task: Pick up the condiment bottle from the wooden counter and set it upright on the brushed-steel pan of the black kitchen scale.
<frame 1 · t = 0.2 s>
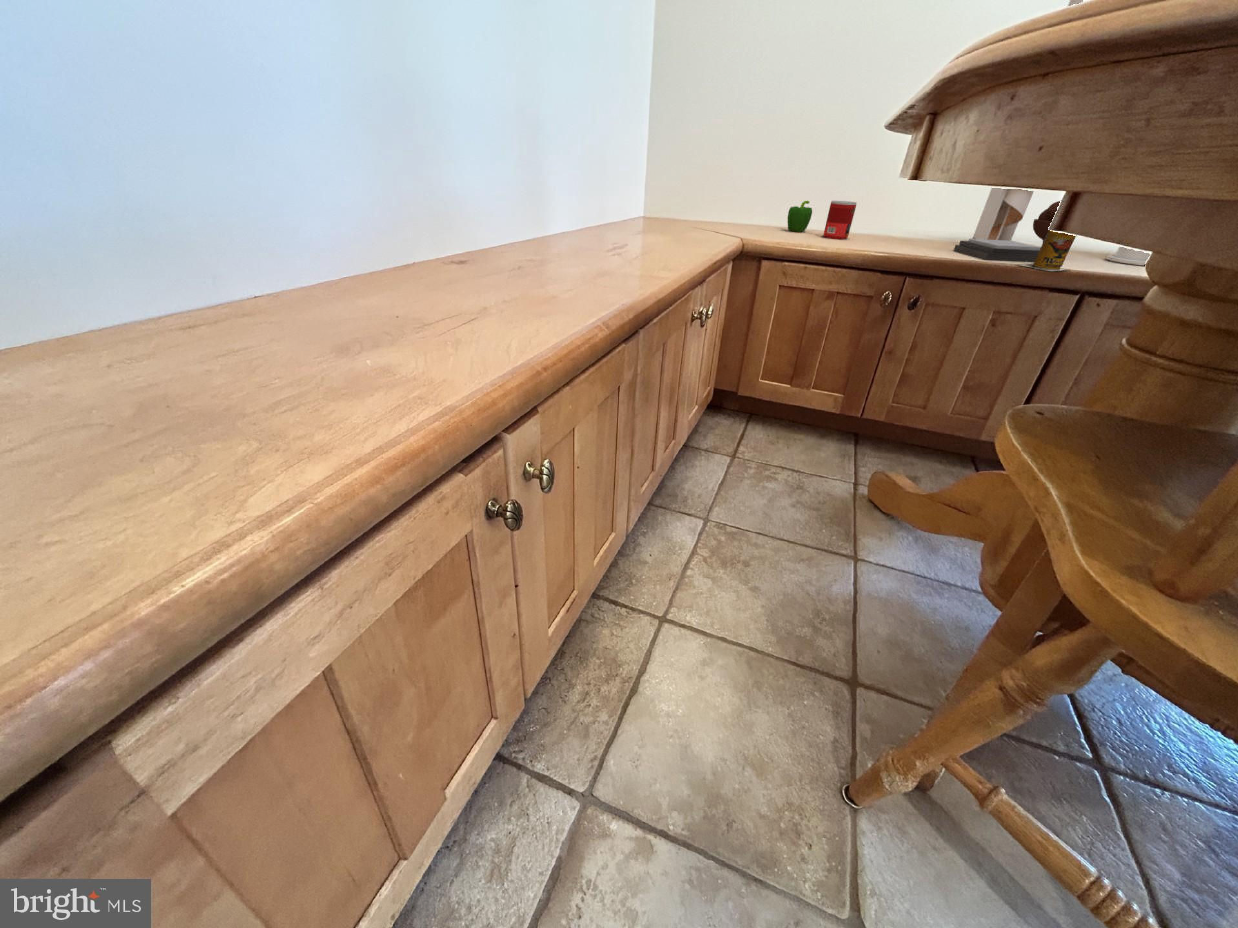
hand: (1036, 130, 130), 31 cm above the worktop, tool pointing down, fingers open, 9 cm apart
bell pepper: (796, 232, 182), on the worktop
condiment: (1041, 268, 133), on the worktop
scale: (998, 256, 148), on the worktop
display case: (994, 248, 165), on the worktop
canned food: (834, 238, 170), on the worktop
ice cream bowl: (1040, 255, 154), on the worktop
scale pan: (1003, 245, 146), point 3 cm above the worktop, slide at -0.1 cm
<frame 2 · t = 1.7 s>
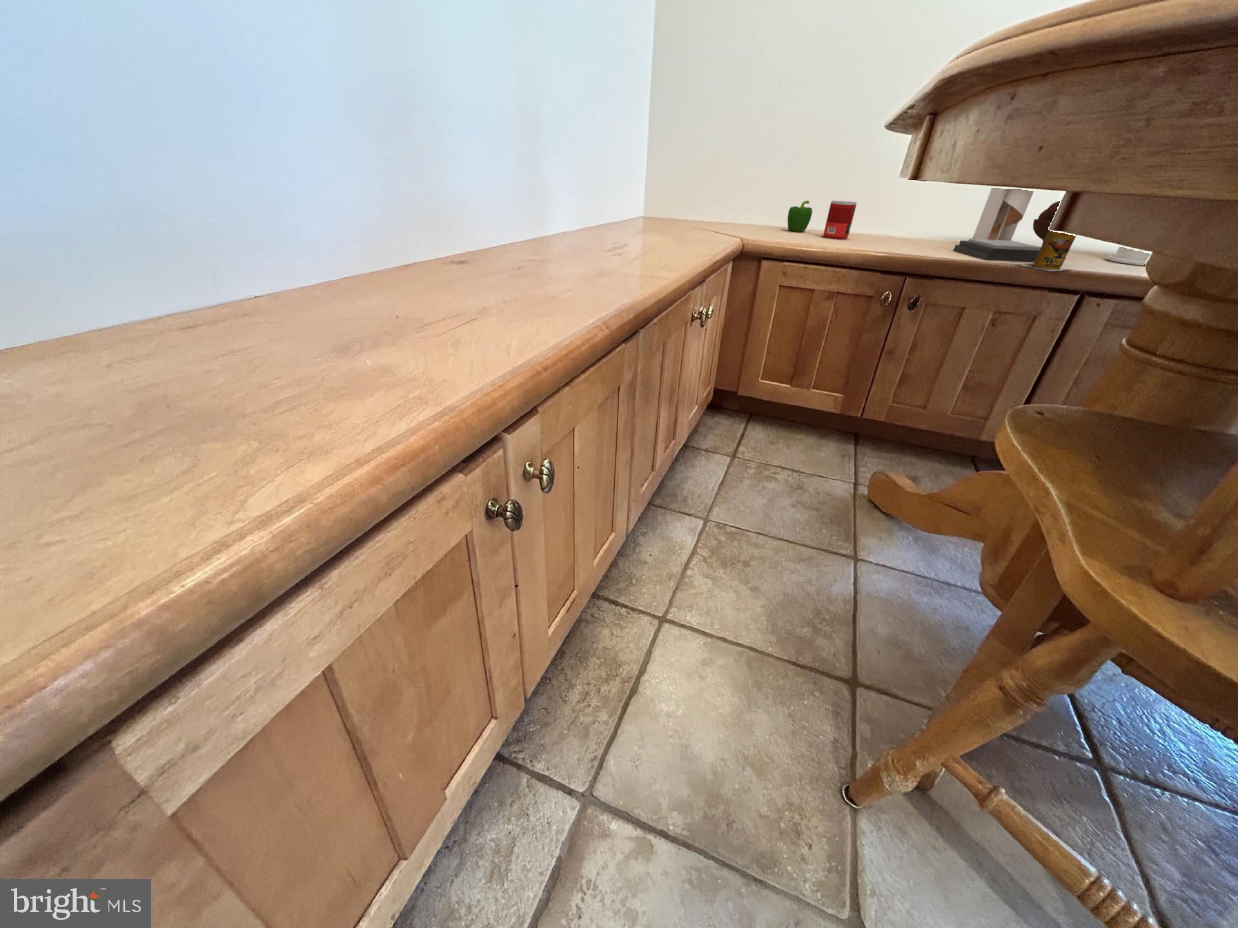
hand: (1077, 185, 123), 19 cm above the worktop, tool pointing down, fingers open, 9 cm apart
nothing on the worktop moved.
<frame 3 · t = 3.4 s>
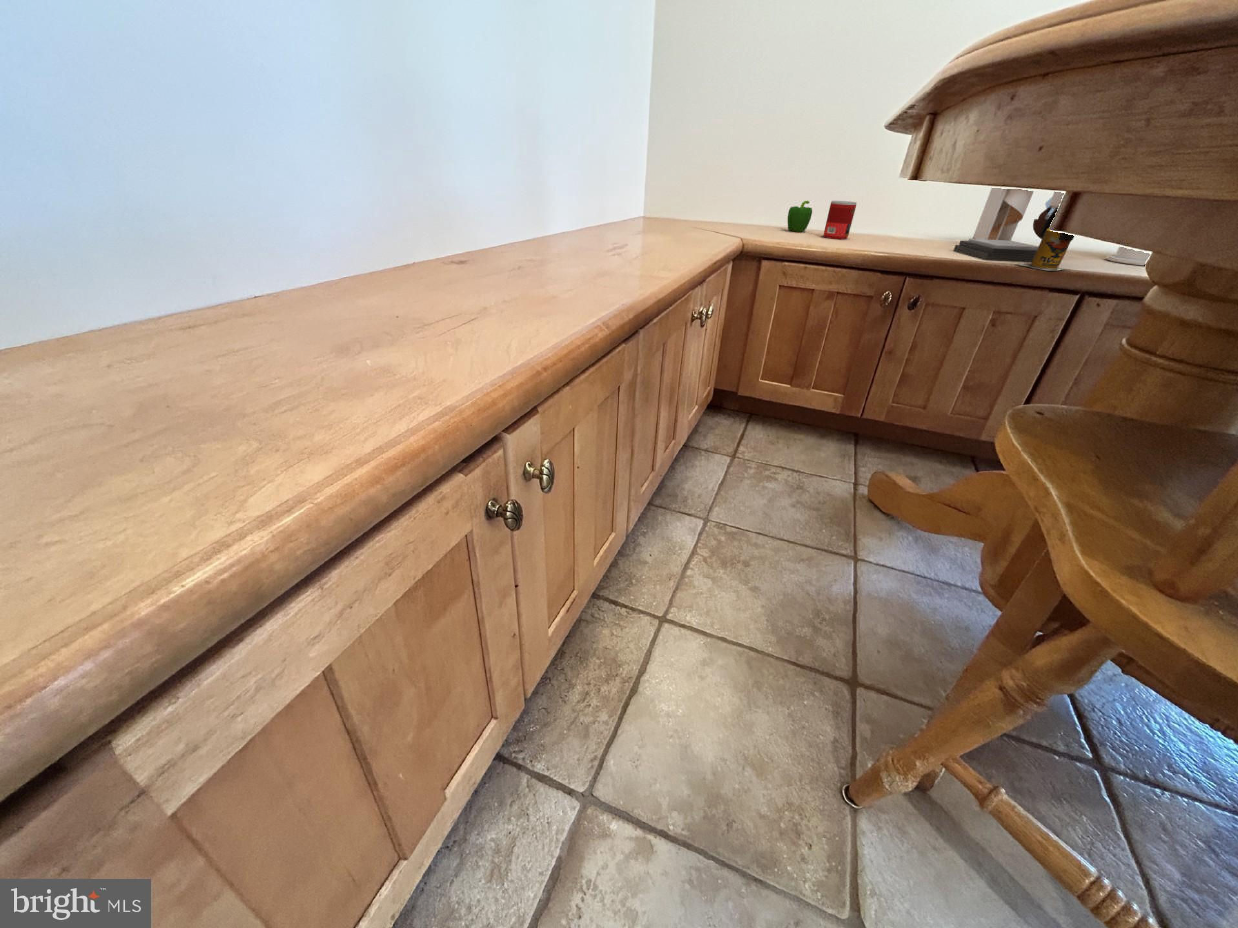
hand: (1055, 237, 128), 7 cm above the worktop, tool pointing down, fingers closed on condiment, 6 cm apart
condiment: (1039, 268, 133), on the worktop, touching gripper
everything else where it was.
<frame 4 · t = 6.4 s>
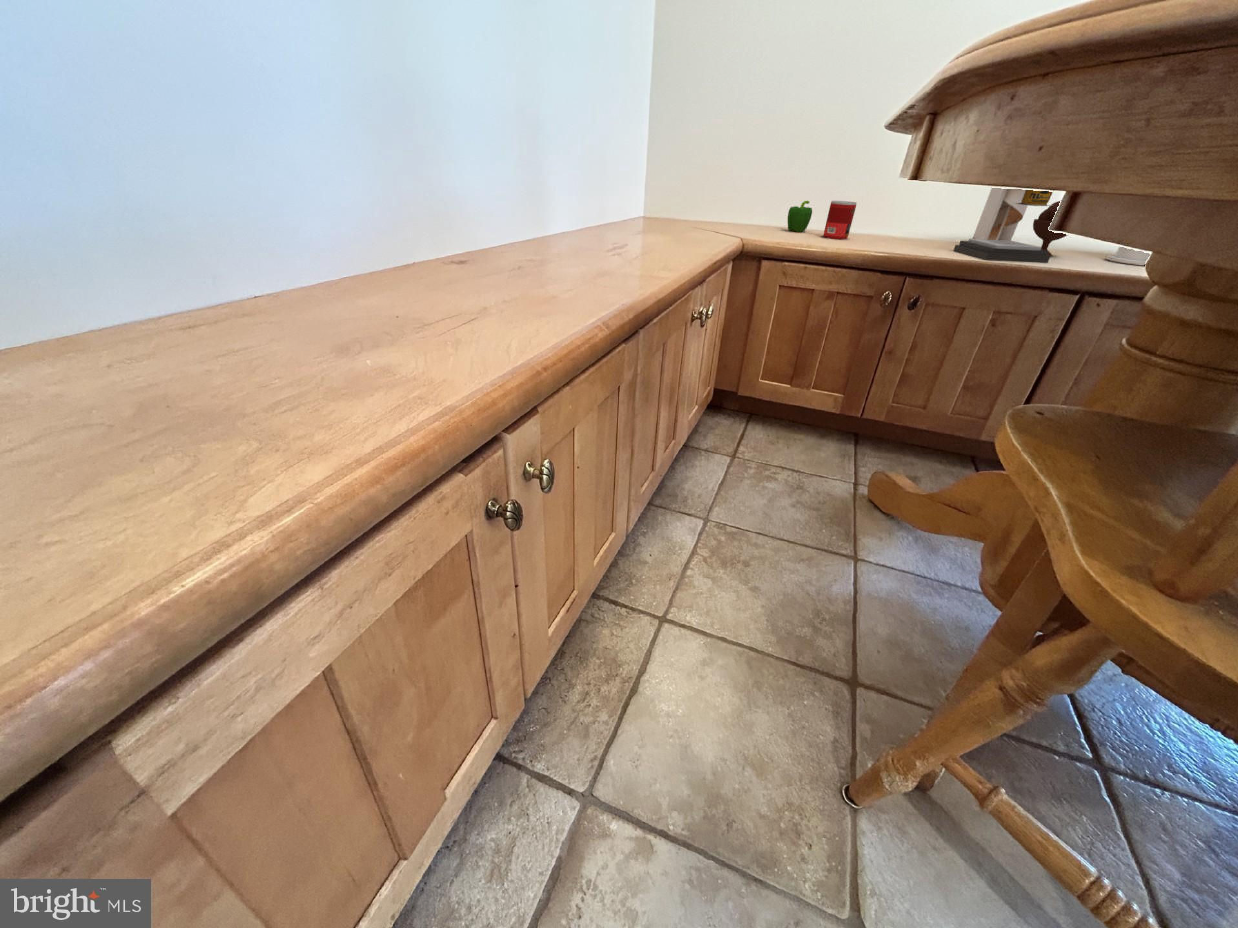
hand: (1044, 174, 133), 21 cm above the worktop, tool pointing down, fingers closed on condiment, 6 cm apart
condiment: (1029, 206, 138), point 14 cm above the worktop, touching gripper
everything else where it was.
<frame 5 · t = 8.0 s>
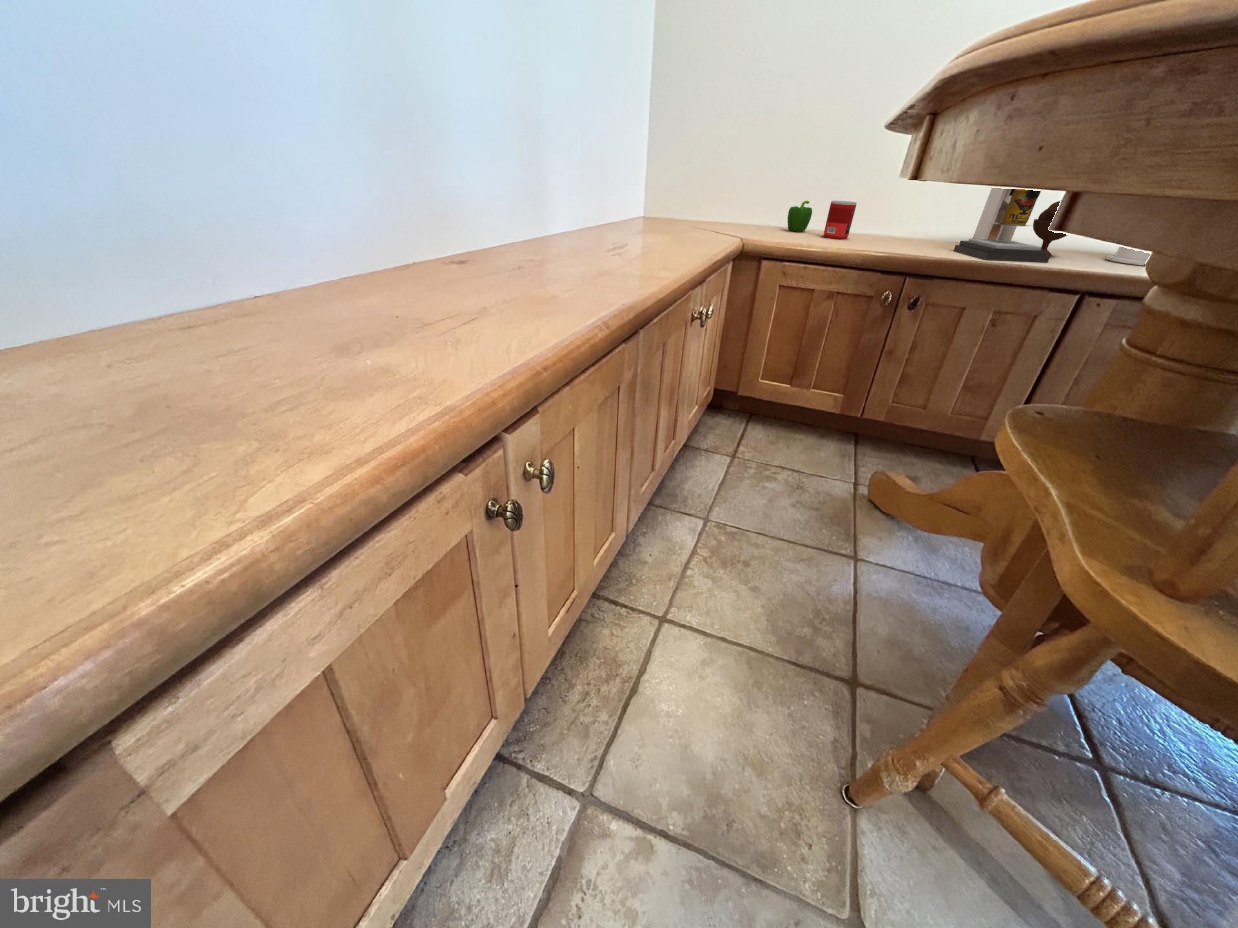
hand: (1023, 196, 140), 16 cm above the worktop, tool pointing down, fingers closed on condiment, 6 cm apart
condiment: (1009, 225, 144), point 8 cm above the worktop, touching gripper
everything else where it was.
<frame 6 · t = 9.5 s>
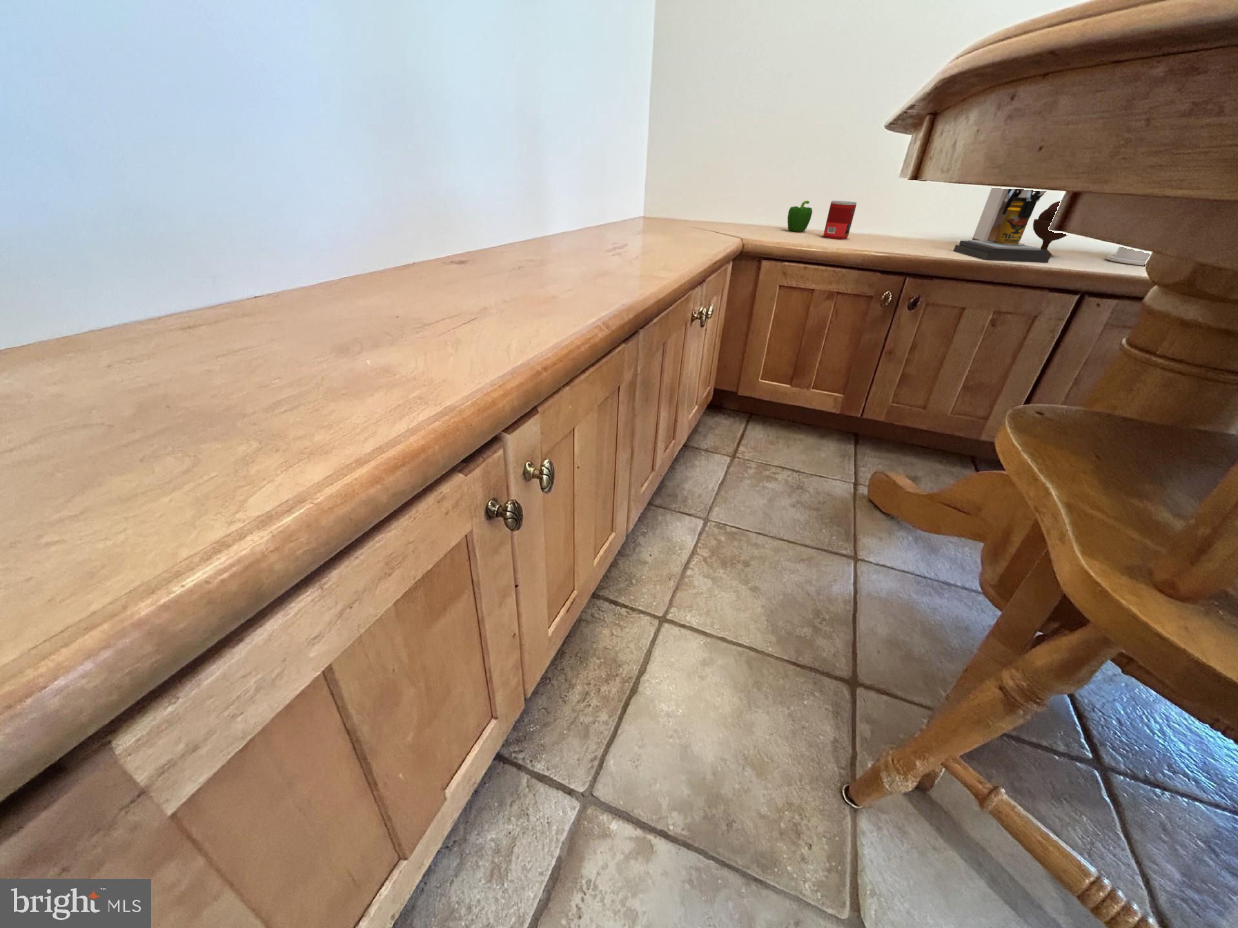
hand: (1015, 215, 142), 11 cm above the worktop, tool pointing down, fingers closed on condiment, 6 cm apart
condiment: (1002, 244, 147), point 3 cm above the worktop, touching gripper, scale pan
scale pan: (1002, 246, 146), point 3 cm above the worktop, slide at -0.4 cm, touching condiment
everything else where it was.
when the fingers open (11 cm above the worktop, at t = 9.5 s): condiment stays where it is, resting on scale pan.
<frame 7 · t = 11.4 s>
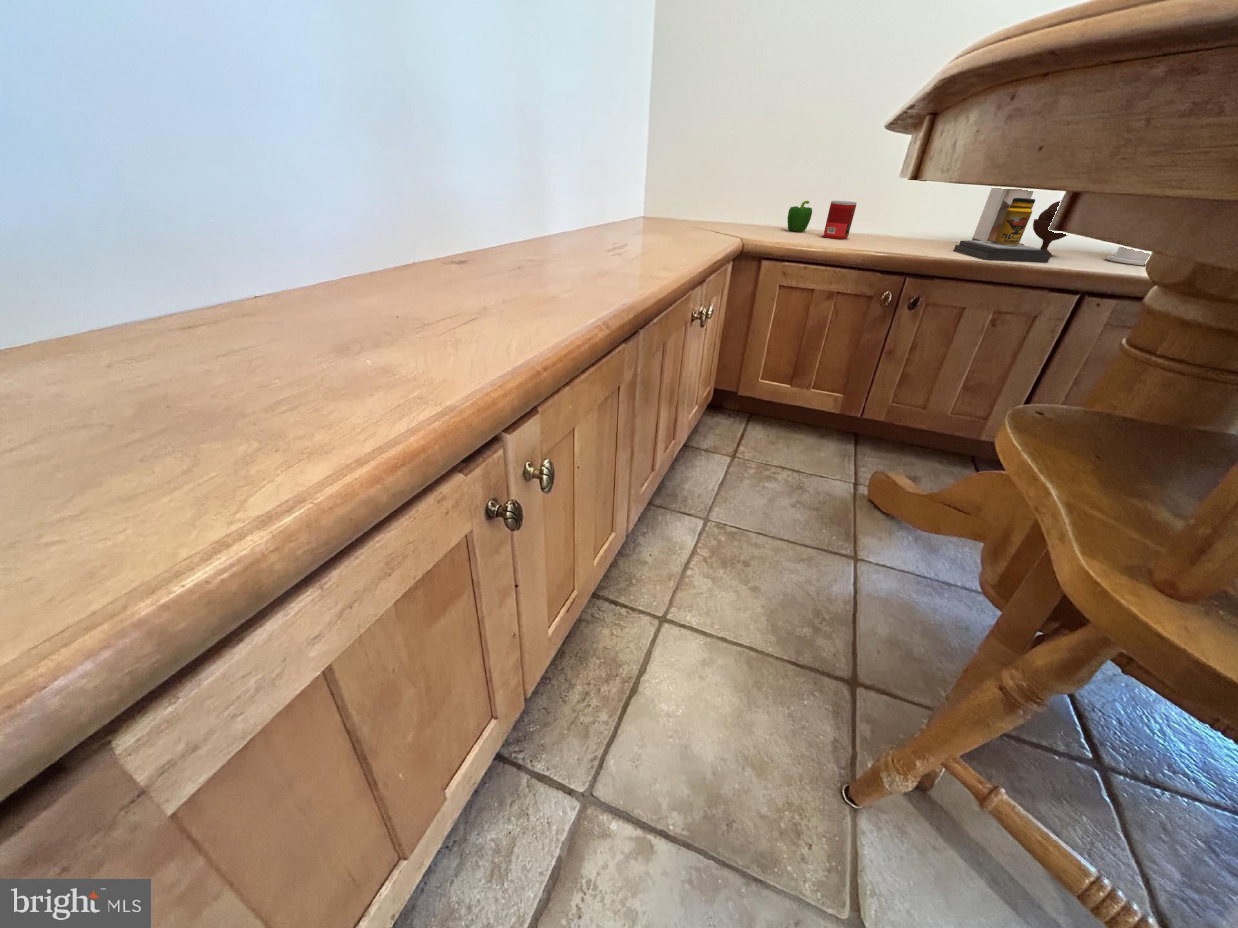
hand: (1048, 158, 135), 25 cm above the worktop, tool pointing down, fingers open, 9 cm apart
condiment: (1002, 244, 147), point 3 cm above the worktop, touching scale pan
everything else where it was.
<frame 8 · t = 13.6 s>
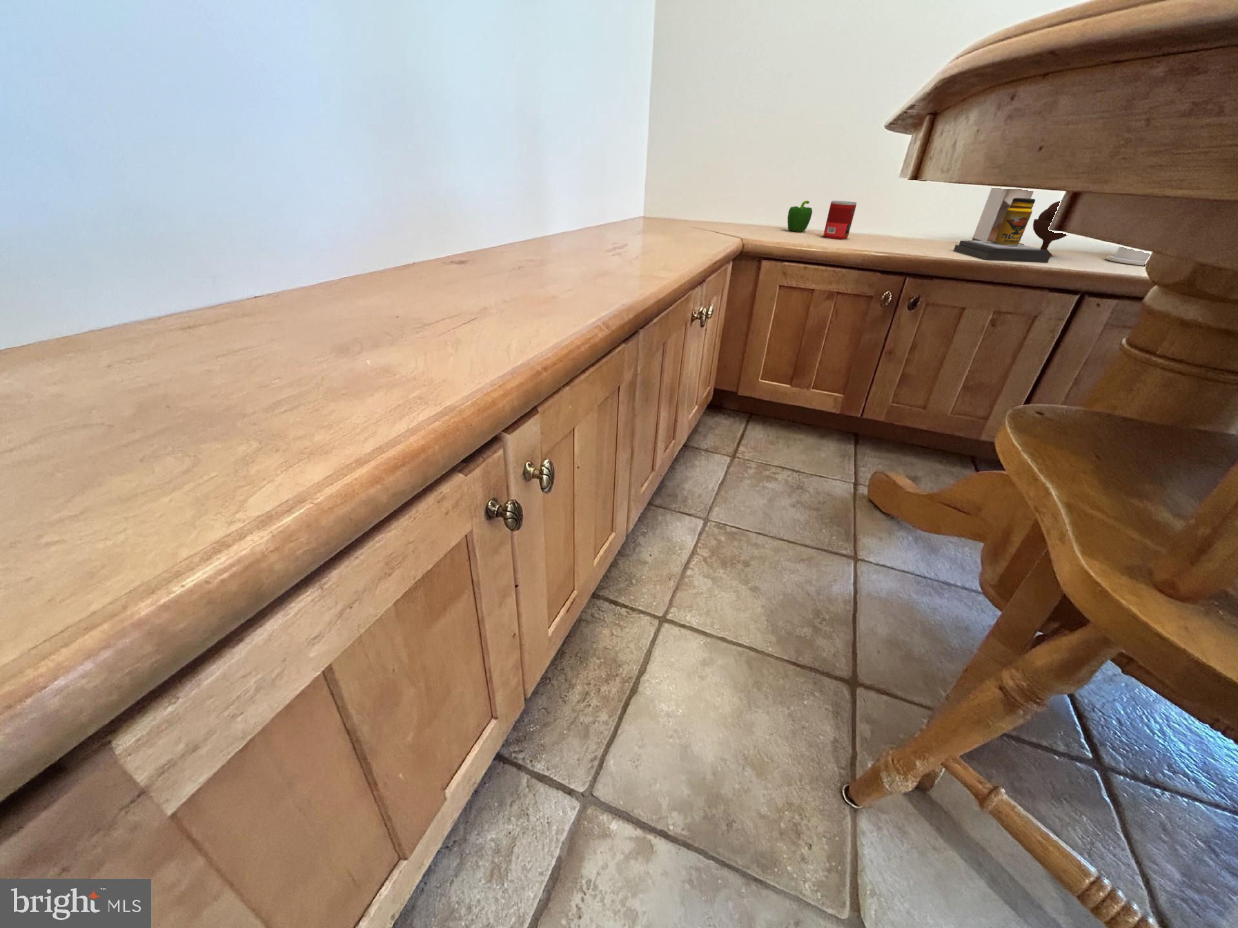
hand: (1096, 146, 133), 28 cm above the worktop, tool pointing down, fingers open, 9 cm apart
nothing on the worktop moved.
at the end: condiment inside the target area on the scale (1.0 cm from its centre), point 3.1 cm above the scale's base; condiment tilted 0°; the gripper is holding nothing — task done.
